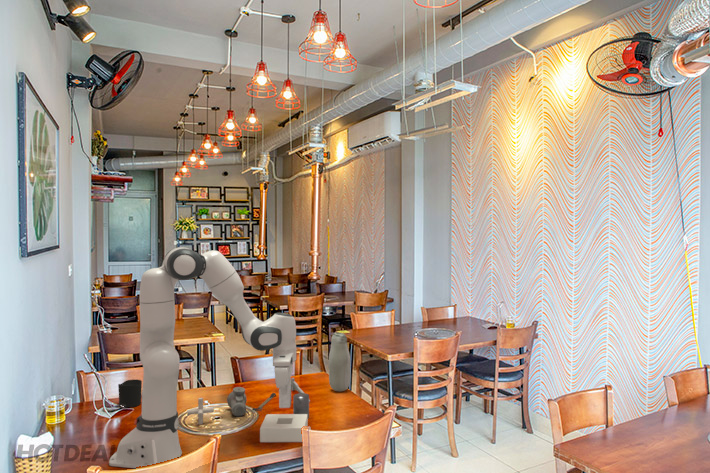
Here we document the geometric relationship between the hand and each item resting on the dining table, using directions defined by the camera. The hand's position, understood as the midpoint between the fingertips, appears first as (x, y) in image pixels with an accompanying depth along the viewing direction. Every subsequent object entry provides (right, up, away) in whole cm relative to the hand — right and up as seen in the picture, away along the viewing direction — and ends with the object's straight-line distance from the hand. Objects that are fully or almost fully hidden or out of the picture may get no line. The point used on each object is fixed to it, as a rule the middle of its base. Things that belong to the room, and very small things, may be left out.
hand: (284, 392), depth 183 cm
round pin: (+4, -16, +17) cm, 24 cm away
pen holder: (-73, -16, +32) cm, 82 cm away
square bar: (0, -5, 0) cm, 5 cm away
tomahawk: (-13, -17, +35) cm, 41 cm away
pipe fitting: (-23, -16, +23) cm, 36 cm away
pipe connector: (-35, -16, +11) cm, 40 cm away
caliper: (+1, -16, +45) cm, 48 cm away
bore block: (0, -16, 0) cm, 16 cm away
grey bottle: (+19, -16, +52) cm, 57 cm away
